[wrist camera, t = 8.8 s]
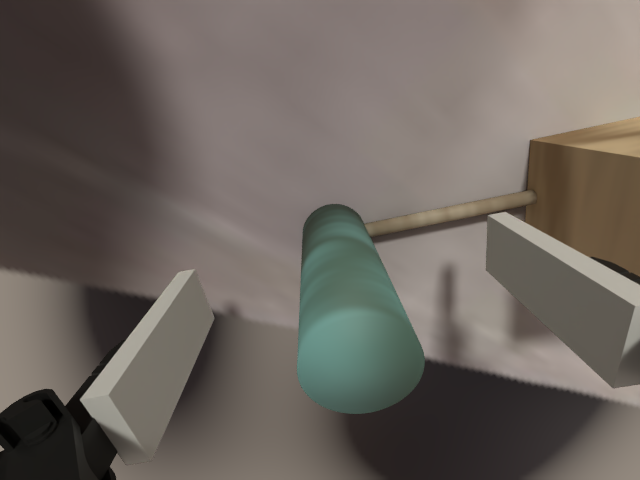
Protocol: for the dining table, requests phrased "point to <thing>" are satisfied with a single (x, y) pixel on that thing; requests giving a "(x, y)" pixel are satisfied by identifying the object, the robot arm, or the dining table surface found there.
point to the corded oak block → (361, 255)
